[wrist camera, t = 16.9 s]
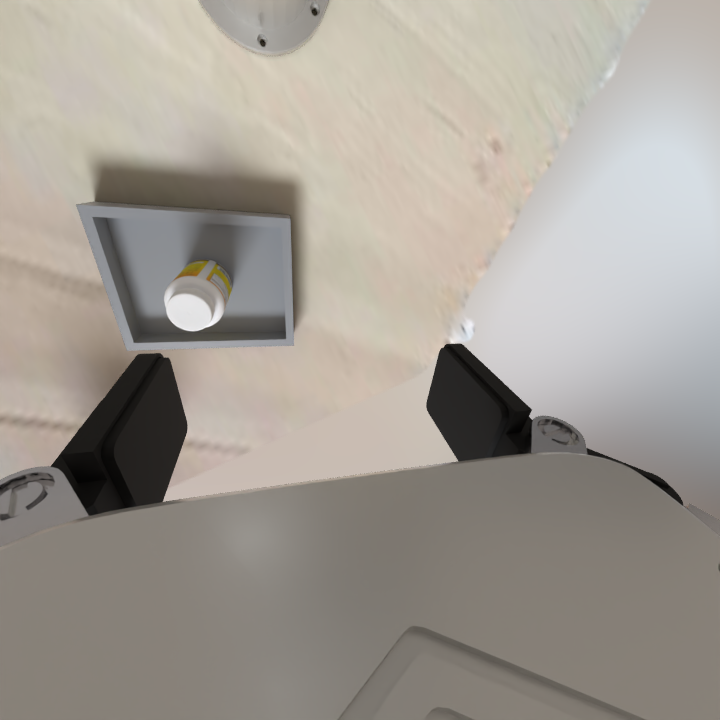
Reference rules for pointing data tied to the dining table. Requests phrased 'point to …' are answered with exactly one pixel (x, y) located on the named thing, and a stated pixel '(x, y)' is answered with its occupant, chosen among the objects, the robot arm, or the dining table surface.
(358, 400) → the dining table surface
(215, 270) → the supplement bottle
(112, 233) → the tray
